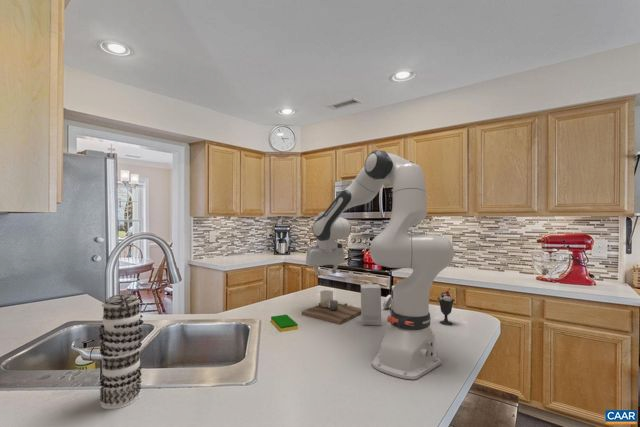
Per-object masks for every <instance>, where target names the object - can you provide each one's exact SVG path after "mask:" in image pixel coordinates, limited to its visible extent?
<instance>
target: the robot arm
mask: <svg viewBox="0 0 640 427" xmlns="http://www.w3.org/2000/svg"><path fill="white" fill-rule="evenodd" d="M424 174H425V173H424V171H423V169H422V167H421V166H420V165H419V164H417V163H414V162H413V161H410V160H408V159H406V158H403V157H402V156H399V155H398V154H395V153H390V152H386V151H385V150H378V149H376V150H373V151H371V152H370V153H369V154H368V155H367V157H366V159H365V161H364V166H362V168H361V169H360V171H359V172H358V174H357V175H356V176H355V178H354V180H352V182H351V183H350V184H349V185H348V186H347V187H346V188H344V190H343V191H341V192H340V193H339V194H338V195H337V196H336V197H335V198H334V200H333V201H332V202H331V204H330V205H329V206H328V207H327V208H326V210H322V211H320V212H319V213H317V218H316V220H315V221H314V222H313V224H312V234H313V235H314V237H315V238H316V245H310V246H308V247H307V248H306V258H305V264H306V265H307V266H308V267H312V269H313V270H314V275H315V276H320V271H319V270H318V266H328V265H333V267H332V268H333V269H332V268H331V274H334V275H335V274H337V269H338V267H339V265H340V264H344V263H345V261H346V256H345V250H344V248H345V245H344V243H342V242H338V241H336V240H344V239H346V238H348V237H349V236H350V234H351V231H352V228H351V226H352V225H351V223H350V221H349V220H348V219H347V218H344V217H341V215H342V214H343V213H344V212H345V211H347V210H349V209H350V208H353V207H357V206H363V205H365V204H368V203H370V202H371V201H372V200H374V198H375V197H376V196H377V195H378V194H379V193H380V191H381V189H382V187H383V186H384V184H385V185H388V186H392V208H391V215H390V219H389V221H388V224H387V226H386V227H385V228H384V229H383V230H382V231H381V232H380V233H379V234H377V235H376V236H375V237H373V238H372V240H371V242H370V246H369V255H370V257H371V260H372V261H373V263H374V264H375V265H377V266H380V267H386V268H390V269H391V268H392V269H394V268H396V269H398V268H399V269H412V272H411V274H410V275H409V276H408V277H405V278H403V279H401V280H398V281H397V282H396V283H395V284H394V285H393V286H394V288H393V309H392V311H391V312H390V315H388V316H387V319H386V322H387V323H389V326H388V328H387V330H386V332H385V334H384V336H383V338H382V341H381V343H380V347H379V351H378V353H377V354H376V356H375V357H374V359H372V362H371V367H373V369H376V371H379V372H382V373H384V374H387V375H389V376H390V375H391V376H393V377H396V378H401V379H404V380H405V379H406V380H417V379H419V378H422V377H423V376H424V375H425V374H427V373H429V372H430V371H432V370H434V369H435V368H436V367H438V366H440V365H441V364H442V360H441V359H440V358H439V357H437V348H436V345H437V344H436V335H435V333H434V332H433V330H432V329H431V327H430V326H431V317H432V316H431V312H430V308H429V307H430V305H429V304H430V293H431V287H432V285H433V282H434V280H435V279H436V277H437V276H438V275H439V274H440V272H442V271H443V270H445V269H446V268H447V267H448V266H450V265H451V264H452V262H453V259H454V257H455V250H454V246H453V243H452V241H451V240H450V239H449V238H448V237H446V236H442V235H438V234H432V233H424V234H423V233H410V232H409V233H408V231H409V229H410V228H411V227H414V226H416V225H418V224H420V223H421V222H423V221H424V220H425V219H426V217H427V215H428V203H427V200H428V199H427V184H426V179H425V175H424Z"/></svg>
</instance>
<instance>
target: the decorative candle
mask: <svg viewBox="0 0 640 427" xmlns="http://www.w3.org/2000/svg"><path fill="white" fill-rule="evenodd" d="M141 301H142V300H141V299H140V298H138V297H137V296H136V295H135V294H131V293H123V294H122V293H121V294H115V295H112V296H110V297H109V298H107V299H106V301H105V302H103V303H102V304H101V307H103V308H102V309H103V311H102V312H103V316H102V324H101V325H100V327H99V328H98V329H99V330H98V331H99V334H98V336H99V338H98V339H99V340H101V341H100V343H99V346H100V349H99V353H100V354H99V355H100V356H101V357H102V360H103V361H102V365H101V366H102V368H101V370H102V373H100V376H99V377H100V381H99V382H100V383H99V384H100V386H101V387H100V389H99V391H100V392H99V393H100V395H99V398H100V399H99V400H100V407H101V408H103V409H105V410H106V409H107V410H116V409H121V408H125V407H127V406H130V405H131V404H134V403H135V402H137V401H138V400H139V399H140V397H141V396H142V392H141V390H142V386H141V383H142V382H143V381H142V378H141V377H142V373H141V372H142V371H141V370H142V369H143V368H142V365H141V359H140V350H141V349H142V345H143V344H142V342H141V341H140V340H141V339H142V338H143V334H141V333H142V332H143V331H144V330H143V328H142V327H140V326H141V325H142V324H144V320H143V319H142V318H143V317H144V316H143V315H142V314H141V312H140V305H141V304H140V303H141Z"/></svg>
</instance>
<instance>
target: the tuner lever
mask: <svg viewBox="0 0 640 427" xmlns="http://www.w3.org/2000/svg"><path fill="white" fill-rule="evenodd" d="M319 292H320V294H319V296H320V299H319V300H320V301H319V303H320V306H321V307H328V308H330V310H338V303H339V301H338V300H334V291H333V290H327V289H326V290H321V291H319Z"/></svg>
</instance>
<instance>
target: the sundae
mask: <svg viewBox="0 0 640 427" xmlns="http://www.w3.org/2000/svg"><path fill="white" fill-rule="evenodd" d="M450 290H451V288H450V287H448V290H446V291H444V292H441V294H440V296H438V297H437V300H438V302H439V309H440V312H441V313H442V315H444V317H443V318H444V320H440V321H439V323H440V324H441V325H443V326H452V325H453V322H451V321H449V319H448V315H450V314H451V313H452V311H453V310H452V308H453V303H454V302H455V301H456V299H454V298H452V296H451V294H450Z"/></svg>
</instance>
